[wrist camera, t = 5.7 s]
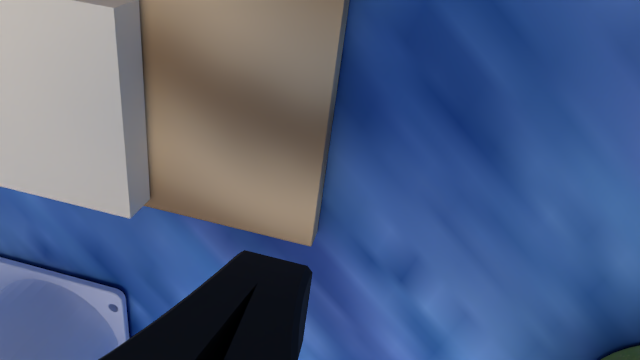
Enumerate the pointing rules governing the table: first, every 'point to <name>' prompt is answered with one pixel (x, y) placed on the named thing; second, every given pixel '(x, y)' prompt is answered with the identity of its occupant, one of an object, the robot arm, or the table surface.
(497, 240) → the table surface
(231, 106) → the cork board
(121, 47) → the tile
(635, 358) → the plant pot
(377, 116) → the table surface
